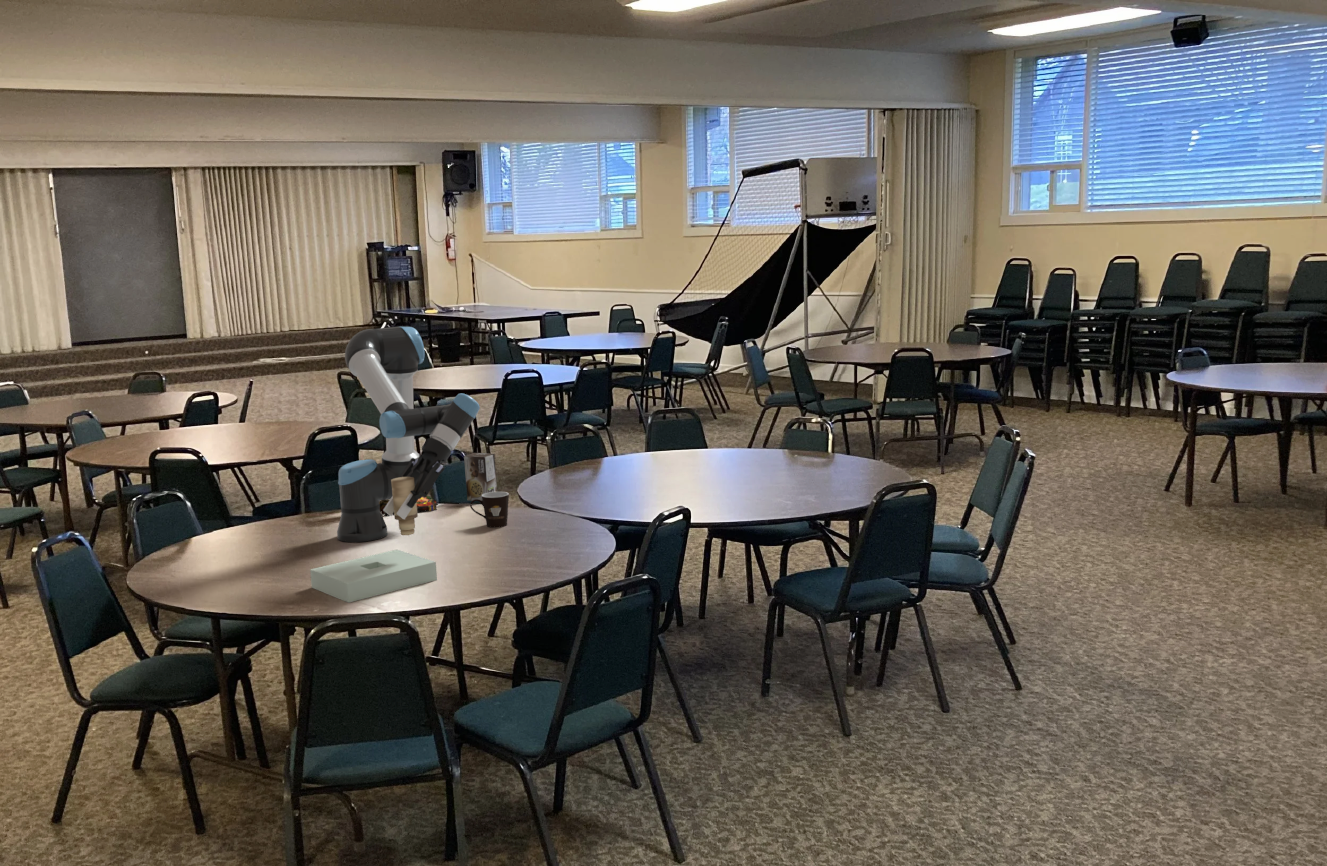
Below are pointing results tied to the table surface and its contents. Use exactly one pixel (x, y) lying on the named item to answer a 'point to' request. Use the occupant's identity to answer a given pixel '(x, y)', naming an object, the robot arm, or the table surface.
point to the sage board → (373, 575)
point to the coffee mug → (494, 508)
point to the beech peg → (400, 493)
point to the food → (422, 504)
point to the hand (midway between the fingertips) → (393, 514)
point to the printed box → (480, 475)
